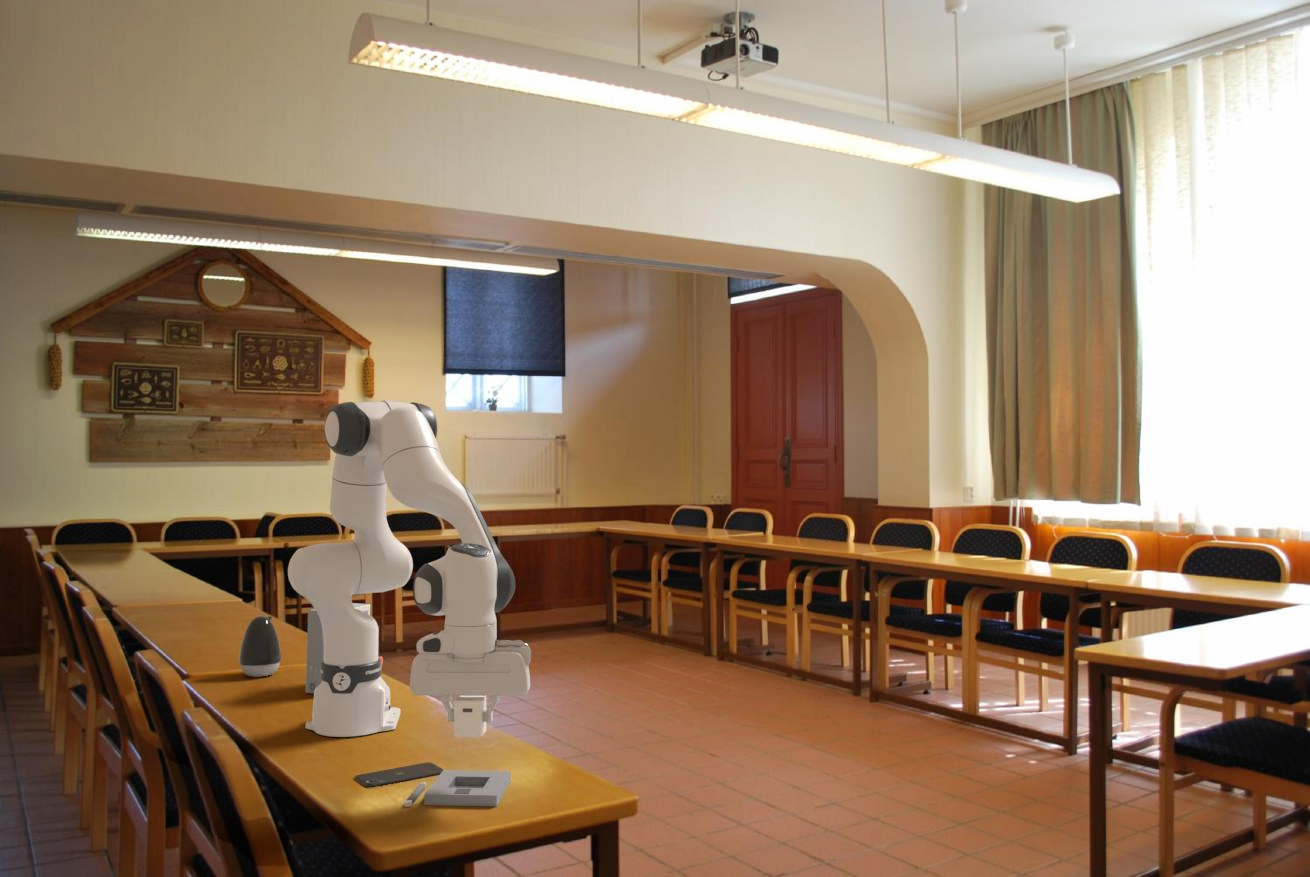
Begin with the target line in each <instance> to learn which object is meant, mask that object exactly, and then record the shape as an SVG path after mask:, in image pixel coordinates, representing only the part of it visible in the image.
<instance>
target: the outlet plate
mask: <svg viewBox="0 0 1310 877" xmlns="http://www.w3.org/2000/svg"><path fill="white" fill-rule="evenodd" d="M511 782H512V771H510V770H471V769H469V770H467V769H463V770H462V769H443V771H442V773H441V774H440V775H437V777H436V778H435V780H434V781H433V783H432V784H431V785H430V786H429V788H428V789H427V790H426V791H425V793H424V797H423V799H424V804H423V805H424V806H445V807H446V806H450V807H452V806H453V807H454V806H455V807H456V806H457V807H497V806H498V805H499V803H500V802H501V800H502V798H503V796H504V795H505V792H506V791H507V788H508V787H509V785H510V783H511Z"/></svg>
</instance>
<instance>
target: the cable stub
mask: <svg viewBox="0 0 1310 877" xmlns="http://www.w3.org/2000/svg"><path fill="white" fill-rule="evenodd" d="M427 784H428V783H427V782H420V783H419V784H418V785H417V787H416V788H415V789H414V790H413V791H412V792H411V794H410V795H409V796H408V798H406V799H405V800H404V802H403V804H404V805H403V806H404V808H409V807H412V806H413V805H414V803H415V801H416V800H417V799H418V798H419V797H420V795H421V794H422V793H423V792H424V790H425V789H426V788H427V787H428V786H427Z"/></svg>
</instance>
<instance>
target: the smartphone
mask: <svg viewBox="0 0 1310 877" xmlns="http://www.w3.org/2000/svg"><path fill="white" fill-rule="evenodd" d="M443 770H444V769H443V768H442V767H440V766H438V765H436V764H435V763H433V762H430V761H429V762H421V763H416V764H410V765H405V766H400V767H395V768H389V769H383V770H379V771H373V772H366V773H362V774H357V775H354V777H353V779H355V781H356V780H357V781H358V782H357V781H356V782H357V783H359V782H360V783H361V784H363V785H364V786H365V787H364V786H363V785H362V786H363V787H364V788H366V787H375V786H380V787H384V786H383V785H385V786H389V785H388V784H391V785H395V784H399V783H400V782H401V783H404V782H410V781H415V780H420V779H425V778H430V777H438V776H439V775H440V774H441V773H442V771H443ZM360 783H359V784H360ZM394 783H395V784H394ZM401 783H400V784H401ZM361 784H360V785H361ZM375 788H376V787H375Z"/></svg>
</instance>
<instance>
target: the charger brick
mask: <svg viewBox="0 0 1310 877" xmlns="http://www.w3.org/2000/svg"><path fill="white" fill-rule="evenodd" d="M453 703H454V706H453V708H454V722H453V724H454V728H453V729H454V732H453V735H454V738H482V737H483V735H484V734H485V732H487V722H483V711H484V710H487V696H458V697H457V698H456V699H455V700H454V701H453Z"/></svg>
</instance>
